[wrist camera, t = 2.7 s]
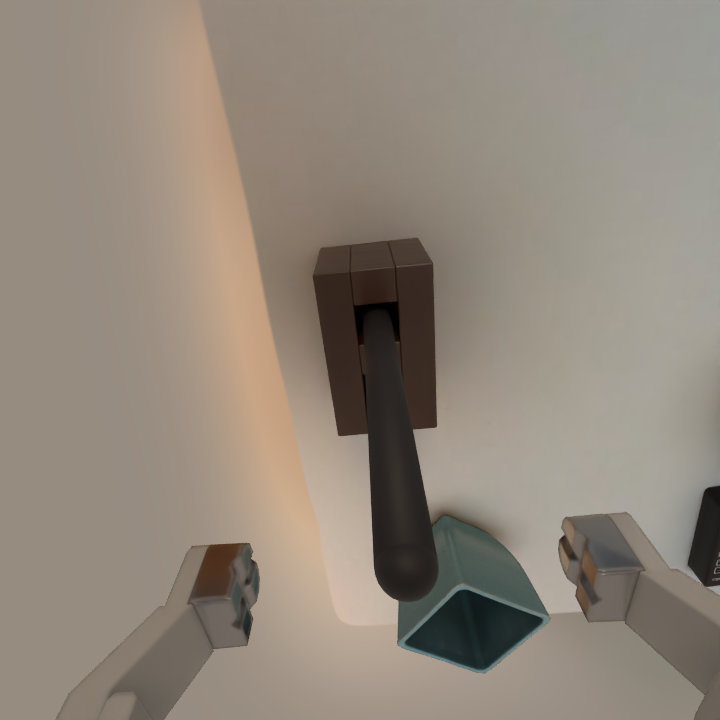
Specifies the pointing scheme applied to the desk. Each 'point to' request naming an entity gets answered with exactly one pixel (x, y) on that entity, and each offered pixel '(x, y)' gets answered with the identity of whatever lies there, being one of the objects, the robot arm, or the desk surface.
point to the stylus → (395, 470)
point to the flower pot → (471, 602)
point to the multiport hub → (707, 540)
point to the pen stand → (408, 315)
